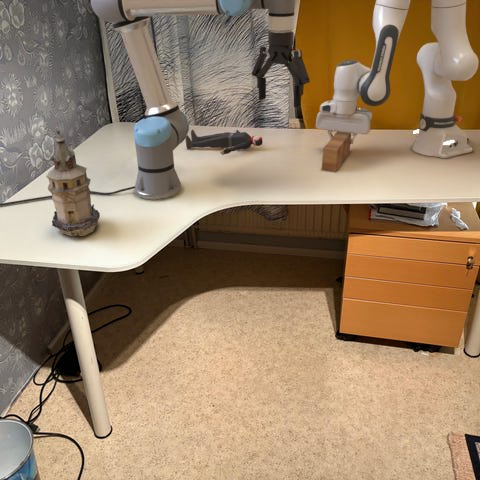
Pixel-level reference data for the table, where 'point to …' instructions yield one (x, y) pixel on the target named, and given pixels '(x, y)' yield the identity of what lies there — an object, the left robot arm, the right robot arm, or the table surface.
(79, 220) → the miniature building
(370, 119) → the right robot arm
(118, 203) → the table surface
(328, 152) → the bar
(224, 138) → the toy
